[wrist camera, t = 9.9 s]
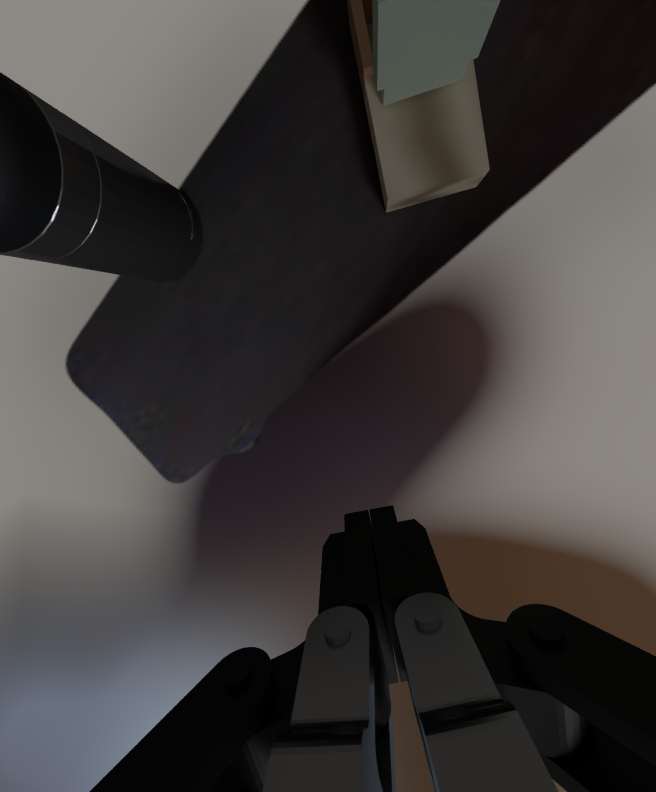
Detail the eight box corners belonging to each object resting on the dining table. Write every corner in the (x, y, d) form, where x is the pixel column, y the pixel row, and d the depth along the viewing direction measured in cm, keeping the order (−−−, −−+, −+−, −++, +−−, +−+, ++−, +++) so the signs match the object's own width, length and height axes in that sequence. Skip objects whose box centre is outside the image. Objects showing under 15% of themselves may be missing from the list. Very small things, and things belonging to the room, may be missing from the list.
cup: (365, 105, 33) (363, 64, 28) (349, 24, 32) (344, -34, 27) (458, 74, 32) (475, 25, 27) (445, -11, 31) (459, -80, 25)
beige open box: (386, 212, 35) (387, 199, 31) (365, 105, 33) (363, 77, 29) (476, 186, 33) (489, 169, 30) (458, 74, 32) (470, 40, 28)
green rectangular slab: (377, 107, 29) (378, 3, 20) (370, 72, 29) (367, -53, 19) (469, 77, 28) (520, -50, 18) (464, 39, 28) (512, -111, 18)
